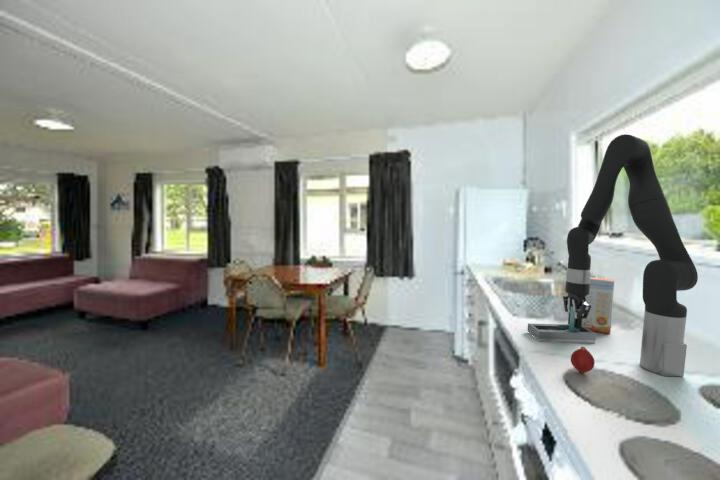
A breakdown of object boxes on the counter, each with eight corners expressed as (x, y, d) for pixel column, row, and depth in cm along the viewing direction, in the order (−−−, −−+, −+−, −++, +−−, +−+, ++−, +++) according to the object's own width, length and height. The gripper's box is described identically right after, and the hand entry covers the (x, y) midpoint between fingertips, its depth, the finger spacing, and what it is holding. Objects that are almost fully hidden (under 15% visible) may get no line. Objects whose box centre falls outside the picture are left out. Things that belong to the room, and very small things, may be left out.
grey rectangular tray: (595, 343, 122) (595, 333, 122) (538, 341, 123) (539, 331, 122) (579, 334, 131) (580, 324, 131) (527, 332, 132) (527, 323, 131)
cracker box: (610, 330, 136) (615, 279, 134) (610, 334, 131) (614, 281, 129) (569, 323, 145) (573, 274, 143) (568, 326, 140) (571, 276, 138)
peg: (587, 337, 124) (589, 311, 123) (570, 337, 124) (572, 310, 123) (577, 332, 130) (579, 306, 129) (561, 331, 130) (563, 306, 129)
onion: (571, 366, 103) (573, 340, 102) (594, 372, 99) (596, 346, 98) (568, 373, 98) (570, 346, 98) (592, 379, 95) (594, 352, 94)
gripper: (601, 285, 118) (597, 333, 119) (576, 277, 132) (573, 320, 133) (579, 284, 118) (575, 333, 120) (557, 276, 132) (553, 320, 134)
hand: (574, 326), depth 126 cm, fingers closed on peg, 3 cm apart
